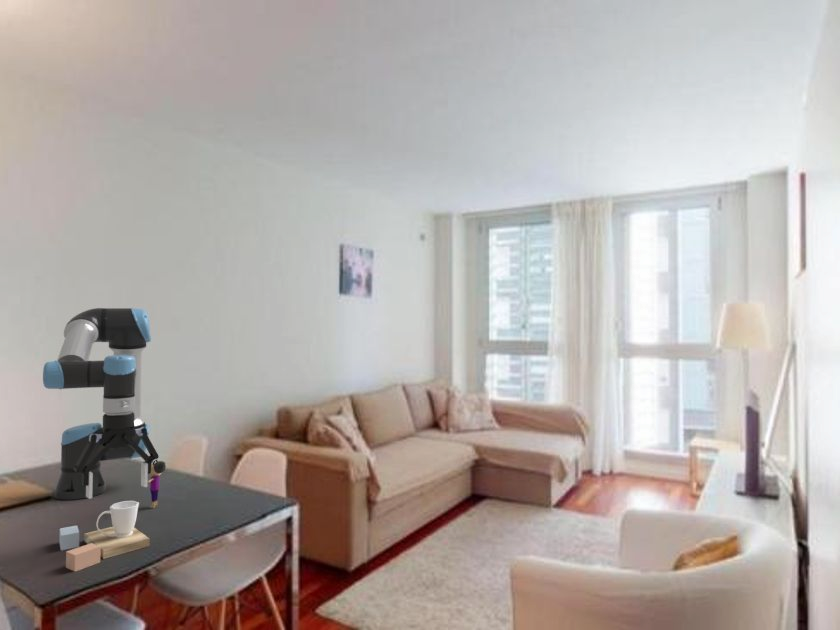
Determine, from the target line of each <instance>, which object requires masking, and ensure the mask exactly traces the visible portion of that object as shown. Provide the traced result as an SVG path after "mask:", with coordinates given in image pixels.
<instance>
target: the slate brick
mask: <svg viewBox="0 0 840 630" xmlns="http://www.w3.org/2000/svg"><path fill="white" fill-rule="evenodd" d="M58 540H59V541H58V542H59V543H58V544H59V548H60V551H61V552H62V551H65V550H67V551H68V550H72V549H75V548H78V547H80V529H79V527H78V525H72V526H66V527H62V528H59V538H58Z"/></svg>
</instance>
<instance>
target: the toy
mask: <svg viewBox="0 0 840 630" xmlns="http://www.w3.org/2000/svg"><path fill="white" fill-rule="evenodd" d="M166 467H167V466H166V462H165V461H161V460H159V461H158V459H155V460H153V462H152V464H151V473H150V475H151V477H150V479H148V484H149V483H150V485H149V487H150V488H149V490H150V494H151V495H150V496H151V498H150V499H151V505H149V506H148V507H149V508H150V509H155V508H156V507H157V506H158V498H159V496H158V494H159V490H160V475H162V473H164V471H166Z"/></svg>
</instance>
